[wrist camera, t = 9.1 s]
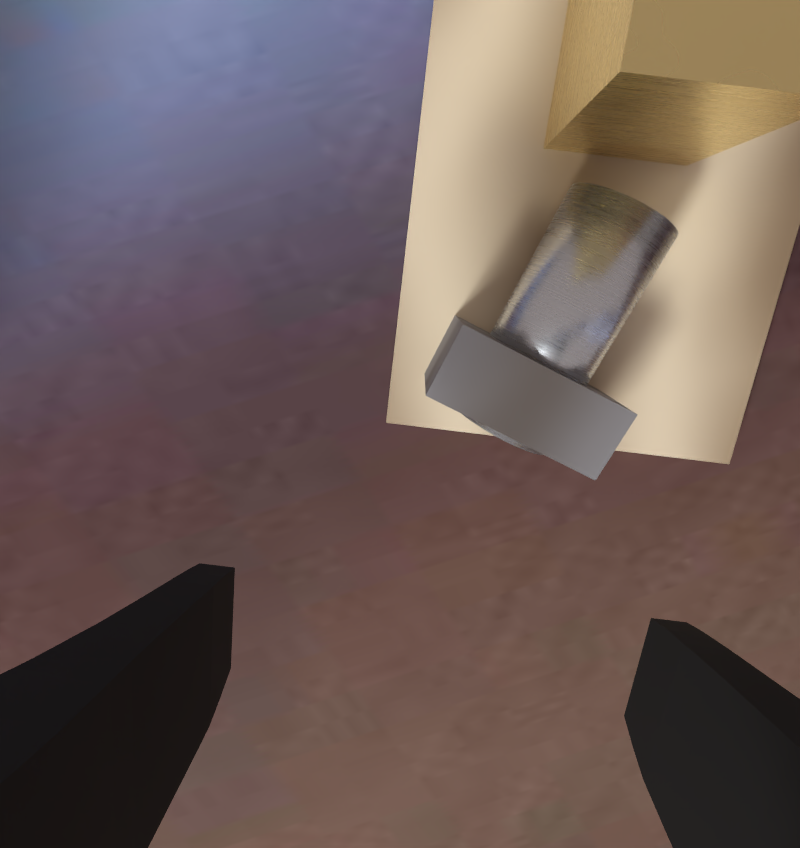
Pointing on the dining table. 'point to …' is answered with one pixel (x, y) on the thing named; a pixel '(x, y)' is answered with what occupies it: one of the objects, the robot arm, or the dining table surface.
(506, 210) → the board
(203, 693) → the robot arm
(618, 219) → the shaft angled
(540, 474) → the dining table surface
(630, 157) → the yellow rectangular block
